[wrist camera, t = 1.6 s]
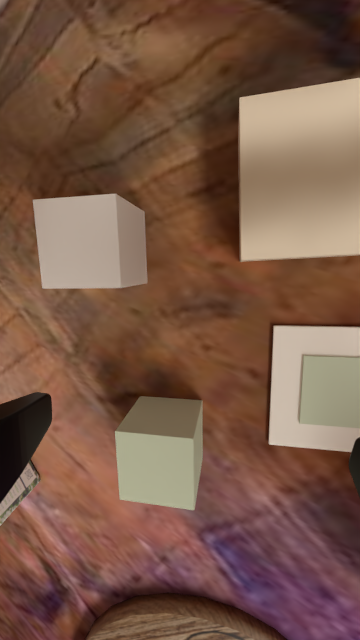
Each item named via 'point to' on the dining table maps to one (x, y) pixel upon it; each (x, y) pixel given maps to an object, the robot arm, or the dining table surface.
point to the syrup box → (19, 491)
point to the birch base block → (300, 172)
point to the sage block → (160, 452)
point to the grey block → (90, 242)
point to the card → (315, 387)
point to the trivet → (178, 620)
